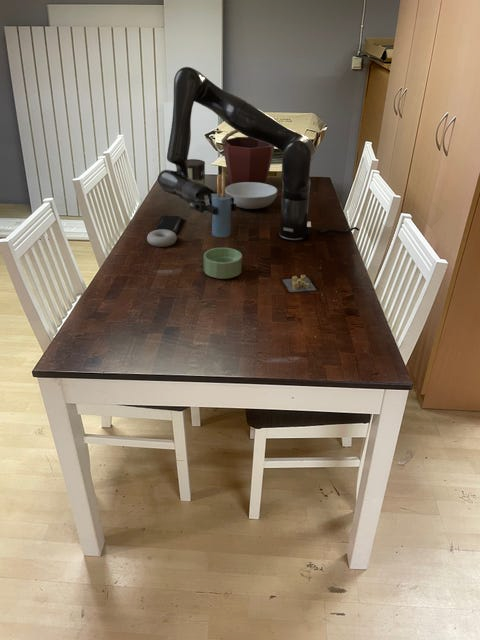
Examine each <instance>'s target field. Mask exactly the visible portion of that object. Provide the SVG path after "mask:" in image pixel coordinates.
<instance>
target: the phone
mask: <svg viewBox="0 0 480 640" xmlns="http://www.w3.org/2000/svg"><path fill="white" fill-rule="evenodd" d="M182 222H183V217H182V216H181V215H162V216H161V217H160V218H159V220H158V222H157V224H156V225H155V226H154V229H153V231H155V230H160V229H165V230H170V231H173V232H174V233H175V234H176V235H177V232H178V230H179V228H180V226H181V224H182Z"/></svg>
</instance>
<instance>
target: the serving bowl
mask: <svg viewBox="0 0 480 640" xmlns="http://www.w3.org/2000/svg"><path fill="white" fill-rule="evenodd" d="M225 193H227V194H229V195H231V196H232V197H233V198H234V203H235V204H236V208H242V209H245V210H258V209H262V208H263V209H264V208H266V207H268V206H270V205H271V204H273V202H274V201H275V200H276V198H277V196H278V189H277V187H275V186H273V185H271V184H268V183H266V184H264V183H256V182H241V183H235V184H231V185H230V184H229V185H227V186H225Z"/></svg>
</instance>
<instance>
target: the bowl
mask: <svg viewBox="0 0 480 640" xmlns="http://www.w3.org/2000/svg"><path fill="white" fill-rule="evenodd" d="M202 256H203V272H204V274H205V275H207V276H208V277H210V278H215V279H219V280H220V279H221V280H226V279H232V278H235V277H238V276H240V275H241V274H242V271H243V254H242V253H241V251H240V250H237V249H235V248H231V247H214V248H211V249H208V250H206V251H205V252H204V253H203V255H202Z"/></svg>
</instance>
